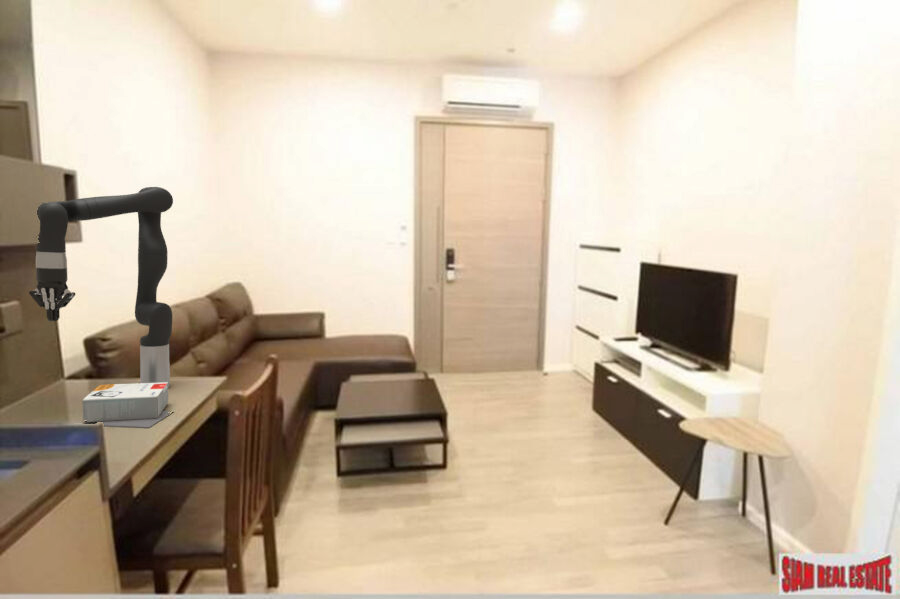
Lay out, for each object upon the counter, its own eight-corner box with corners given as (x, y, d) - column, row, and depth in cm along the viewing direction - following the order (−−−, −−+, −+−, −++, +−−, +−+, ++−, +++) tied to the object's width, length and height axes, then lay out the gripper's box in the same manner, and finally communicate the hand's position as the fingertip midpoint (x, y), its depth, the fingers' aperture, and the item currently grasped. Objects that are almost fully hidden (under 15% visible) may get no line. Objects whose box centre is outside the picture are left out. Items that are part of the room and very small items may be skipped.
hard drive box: (99, 383, 155) (168, 381, 162) (99, 406, 156) (168, 402, 163) (81, 399, 140) (158, 395, 148) (82, 423, 141) (158, 419, 149)
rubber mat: (121, 409, 155) (121, 408, 155) (174, 412, 156) (174, 410, 156) (91, 425, 141) (91, 424, 141) (149, 428, 142) (149, 426, 142)
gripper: (82, 267, 152) (83, 320, 154) (39, 264, 151) (41, 317, 153) (64, 268, 144) (65, 323, 146) (19, 265, 144) (21, 321, 145)
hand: (53, 320), depth 150 cm, fingers closed
